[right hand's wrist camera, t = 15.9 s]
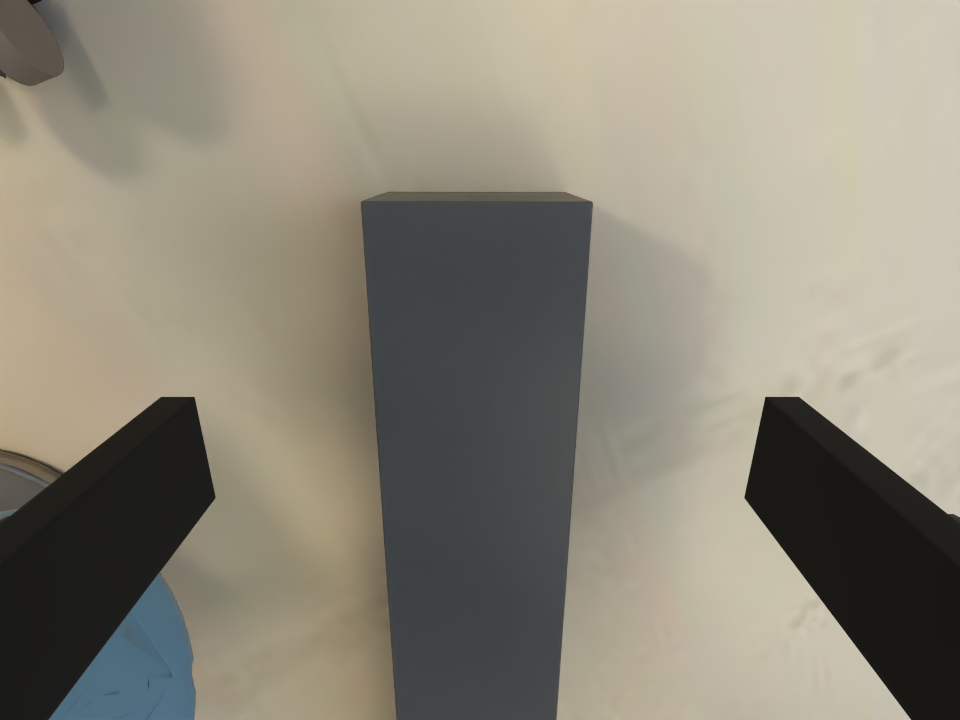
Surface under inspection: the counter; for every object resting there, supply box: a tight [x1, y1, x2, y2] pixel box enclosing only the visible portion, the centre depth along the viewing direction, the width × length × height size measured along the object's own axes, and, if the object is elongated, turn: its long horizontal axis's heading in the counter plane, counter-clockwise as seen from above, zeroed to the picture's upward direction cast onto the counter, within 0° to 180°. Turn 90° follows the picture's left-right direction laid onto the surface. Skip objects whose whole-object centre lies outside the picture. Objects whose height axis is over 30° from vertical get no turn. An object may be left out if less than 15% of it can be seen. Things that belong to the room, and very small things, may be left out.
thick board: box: [361, 192, 593, 720], centre depth 35 cm, size 59×9×7 cm, turn 0°
